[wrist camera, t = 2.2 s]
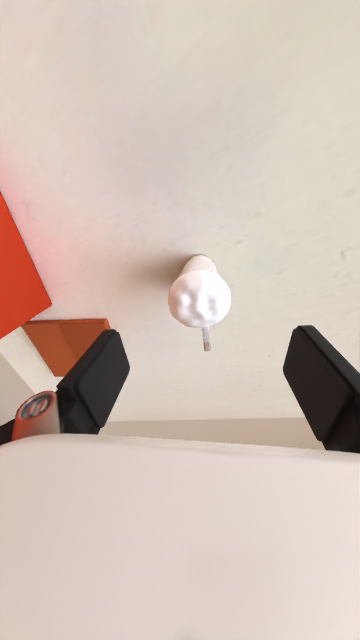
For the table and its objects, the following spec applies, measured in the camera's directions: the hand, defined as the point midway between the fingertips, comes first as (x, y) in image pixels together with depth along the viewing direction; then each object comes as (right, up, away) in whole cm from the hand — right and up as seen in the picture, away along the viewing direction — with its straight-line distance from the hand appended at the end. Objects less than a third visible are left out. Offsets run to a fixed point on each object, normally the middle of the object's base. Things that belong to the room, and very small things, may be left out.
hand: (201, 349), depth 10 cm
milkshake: (+1, +7, +10) cm, 13 cm away
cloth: (-17, -3, +19) cm, 25 cm away
